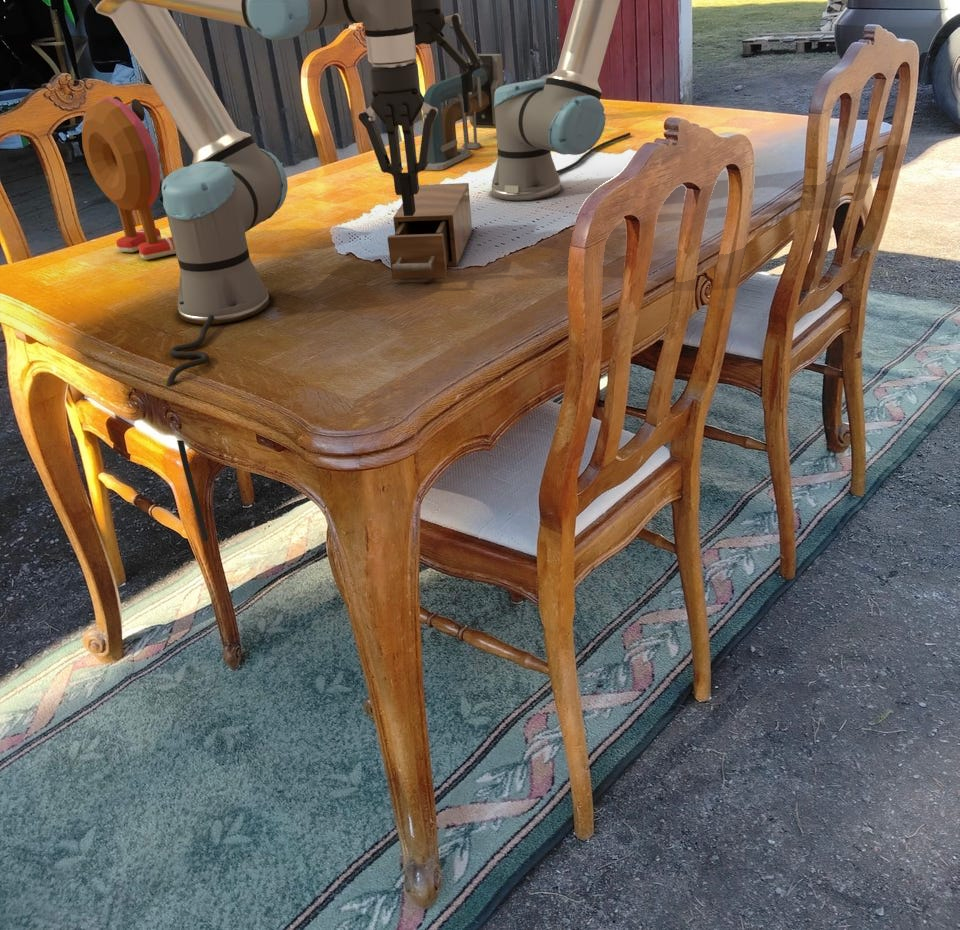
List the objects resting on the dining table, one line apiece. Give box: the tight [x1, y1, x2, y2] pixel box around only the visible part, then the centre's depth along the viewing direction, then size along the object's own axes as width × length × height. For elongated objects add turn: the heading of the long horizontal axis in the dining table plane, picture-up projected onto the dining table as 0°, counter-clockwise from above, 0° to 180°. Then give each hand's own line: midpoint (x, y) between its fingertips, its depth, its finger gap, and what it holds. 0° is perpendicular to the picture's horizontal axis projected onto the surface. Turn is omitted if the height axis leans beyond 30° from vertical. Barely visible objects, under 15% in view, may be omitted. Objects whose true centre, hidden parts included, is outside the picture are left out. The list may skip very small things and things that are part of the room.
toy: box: [81, 95, 176, 260], centre depth 191 cm, size 21×10×30 cm, turn 47°
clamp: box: [417, 53, 505, 171], centre depth 247 cm, size 35×9×21 cm, turn 151°
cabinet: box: [392, 182, 473, 267], centre depth 184 cm, size 21×11×9 cm, turn 173°
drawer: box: [386, 220, 451, 280], centre depth 174 cm, size 25×10×8 cm, turn 173°
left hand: (409, 213), depth 162 cm, fingers closed
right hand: (431, 113), depth 179 cm, fingers open, 13 cm apart
